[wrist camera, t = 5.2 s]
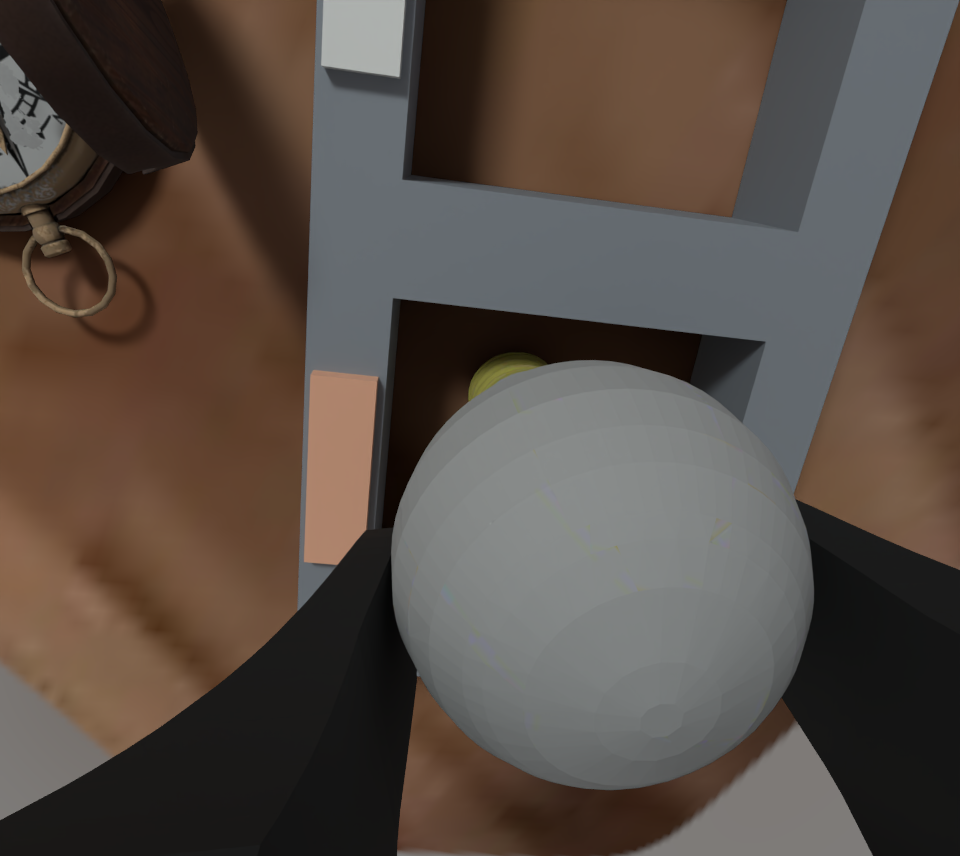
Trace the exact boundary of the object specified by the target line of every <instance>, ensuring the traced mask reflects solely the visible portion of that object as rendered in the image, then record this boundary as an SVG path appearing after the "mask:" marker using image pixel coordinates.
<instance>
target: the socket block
mask: <svg viewBox="0 0 960 856" xmlns="http://www.w3.org/2000/svg"><path fill="white" fill-rule="evenodd" d="M958 2H959V0H787V3H786V7H785V11H784V15H783V19H782V23H781V27H780V31H779V34H778V38H777V42H776V46H775V50H774V54H773V58H772V62H771V66H770V70H769V74H768V78H767V82H766V86H765V89H764V93H763V97H762V101H761V105H760V109H759V113H758V117H757V121H756V125H755V129H754V133H753V137H752V141H751V145H750V148H749V152H748V156H747V160H746V164H745V168H744V172H743V176H742V180H741V184H740V188H739V192H738V196H737V200H736V203H735V207H734V211H733V215H732V218H731V217H723V216H716V215H708V214H701V213H693V212H686V211H678V210H671V209H663V208H656V207H648V206H641V205H633V204H626V203H618V202H611V201H603V200H596V199H588V198H581V197H573V196H566V195H558V194H551V193H543V192H536V191H528V190H521V189H513V188H506V187H498V186H491V185H483V184H476V183H468V182H461V181H453V180H446V179H438V178H431V177H423V176H416V175H411V171H412V159H413V147H414V135H415V123H416V111H417V99H418V87H419V75H420V63H421V51H422V39H423V27H424V15H425V3H426V0H317V14H316V46H315V77H314V109H313V141H312V172H311V204H310V235H309V267H308V298H307V330H306V361H305V393H304V425H303V456H302V488H301V519H300V551H299V582H298V610H299V609H300V608H301V607H302V606H303V605H304V604H305V603H306V602H307V601H308V599H309V598H310V597H311V596H312V595H313V594H314V592H315V591H316V590H317V589H318V588H319V586H320V585H321V584H322V583H323V582H324V581H325V579H326V578H327V577H328V576H329V575H330V573H331V572H332V571H333V570H334V568H335V567H336V566H337V565H338V564H339V562H340V561H341V560H342V559H343V557H344V556H345V555H346V553H347V552H348V551H349V550H350V548H351V547H352V546H353V545H354V543H355V542H356V541H357V540H358V539H359V537H360V536H361V535H362V534H363V533H364V532H365V530H373V529H382V520H383V508H384V496H385V484H386V472H387V460H388V448H389V436H390V424H391V412H392V400H393V388H394V376H395V364H396V352H397V340H398V328H399V316H400V304H401V299H405V300H414V301H423V302H431V303H440V304H448V305H457V306H465V307H474V308H482V309H491V310H500V311H508V312H517V313H525V314H534V315H542V316H551V317H559V318H568V319H577V320H585V321H594V322H602V323H611V324H619V325H628V326H636V327H645V328H654V329H662V330H671V331H679V332H688V333H696V334H702V337H701V341H700V345H699V349H698V353H697V357H696V361H695V365H694V369H693V373H692V376H691V380H690V384H691V385H693V386H694V387H696V388H698V389H700V390H702V391H704V392H705V393H707V394H708V395H710V396H711V397H712V398H714V399H715V400H717V401H718V402H719V403H721V404H722V405H723V406H724V407H725V408H726V409H727V410H729V411H730V412H731V413H732V414H733V415H734V416H735V417H736V418H737V419H738V420H739V421H741V422H742V423H743V424H744V425H745V426H746V427H747V428H748V429H749V430H750V431H751V432H752V433H753V434H755V435H756V436H757V437H758V438H759V439H760V440H761V442H762V443H763V444H764V445H765V446H766V447H767V448H768V449H769V450H770V452H771V453H772V454H773V456H774V457H775V459H776V460H777V462H778V463H779V464H780V466H781V468H782V470H783V472H784V474H785V475H786V477H787V479H788V481H789V484H790V487H791V489H792V492H793V494H794V491H795V488H796V485H797V482H798V479H799V476H800V473H801V470H802V467H803V464H804V461H805V458H806V455H807V452H808V449H809V446H810V443H811V440H812V437H813V434H814V431H815V428H816V425H817V422H818V419H819V416H820V413H821V410H822V407H823V404H824V401H825V399H826V396H827V393H828V390H829V387H830V384H831V381H832V378H833V375H834V372H835V369H836V366H837V363H838V360H839V357H840V354H841V351H842V348H843V345H844V342H845V339H846V336H847V333H848V330H849V327H850V324H851V321H852V318H853V315H854V312H855V309H856V306H857V303H858V300H859V297H860V294H861V291H862V288H863V285H864V282H865V279H866V276H867V273H868V270H869V267H870V265H871V262H872V259H873V256H874V253H875V250H876V247H877V244H878V241H879V238H880V235H881V232H882V229H883V226H884V223H885V220H886V217H887V214H888V211H889V208H890V205H891V202H892V199H893V196H894V193H895V190H896V187H897V184H898V181H899V178H900V175H901V172H902V169H903V166H904V163H905V160H906V157H907V154H908V151H909V148H910V145H911V142H912V139H913V136H914V133H915V131H916V128H917V125H918V122H919V119H920V116H921V113H922V110H923V107H924V104H925V101H926V98H927V95H928V92H929V89H930V86H931V83H932V80H933V77H934V74H935V71H936V68H937V65H938V62H939V59H940V56H941V53H942V50H943V47H944V44H945V41H946V38H947V35H948V32H949V29H950V26H951V23H952V20H953V17H954V14H955V11H956V8H957V5H958ZM417 676H420V675H419V673H418V671H417Z"/></svg>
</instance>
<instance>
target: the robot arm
mask: <svg viewBox="0 0 960 856" xmlns="http://www.w3.org/2000/svg"><path fill="white" fill-rule="evenodd" d="M795 500H796V499H795ZM796 503H797V505H798V508H799V510H800V513H801V516H802V519H803V521H804V524H805V527H806V530H807V534H808V538H809V542H810V550H811V559H812V570H813V581H814V605H813V612H812V619H811V623H810V627H809V631H808V635H807V638H806V641H805V644H804V648H803V651H802V654H801V658H800V661H799V663H798V666H797V669H796V671H795V674H794V676H793V678H792V680H791V682H790V684H789V686H788V687H787V689H786V691H785V692H784V694H783V696H782V699H783V700H784V702H785V703H786V705H787V707H788V708H789V710H790V711H791V713H792V714H793V716H794V718H795V719H796V721H797V722H798V724H799V725H800V727H801V728H802V730H803V732H804V733H805V735H806V736H807V738H808V739H809V741H810V742H811V744H812V746H813V747H814V749H815V750H816V752H817V753H818V755H819V757H820V758H821V760H822V761H823V763H824V764H825V766H826V768H827V770H828V771H829V773H830V775H831V776H832V778H833V780H834V782H835V783H836V785H837V787H838V789H839V790H840V792H841V794H842V795H843V797H844V799H845V801H846V803H847V805H848V807H849V809H850V811H851V813H852V815H853V817H854V819H855V821H856V823H857V825H858V827H859V829H860V831H861V833H862V835H863V837H864V839H865V841H866V843H867V844H868V847H869V849H870V851H871V852H872V855H873V856H960V570H958V569H956V568H953V567H950V566H948V565H945V564H943V563H940V562H938V561H935V560H933V559H930V558H928V557H925V556H923V555H920V554H918V553H915V552H913V551H910V550H908V549H906V548H903V547H901V546H899V545H896V544H894V543H892V542H889V541H887V540H885V539H883V538H880V537H878V536H876V535H873V534H871V533H869V532H867V531H865V530H862V529H860V528H858V527H856V526H854V525H851V524H849V523H847V522H845V521H843V520H840V519H838V518H836V517H834V516H832V515H829V514H827V513H825V512H823V511H821V510H818V509H816V508H814V507H812V506H810V505H807V504H805V503H803V502H800V501H798V500H796ZM393 529H394V527H393V528H383V529H373V530H365V532H364V533H363V534H362V535H361V536H360V537H359V539H358V540H357V541H356V542H355V543H354V545H353V546H352V547H351V548H350V550H349V551H348V552H347V553H346V555H345V556H344V557H343V559H342V560H341V561H340V562H339V564H338V565H337V566H336V567H335V568H334V570H333V571H332V572H331V573H330V575H329V576H328V577H327V578H326V579H325V581H324V582H323V583H322V584H321V585H320V586H319V588H318V589H317V590H316V591H315V592H314V594H313V595H312V596H311V597H310V598H309V599H308V601H307V602H306V603H305V604H304V605H303V606H302V607H301V608H300V609H299V610H298V611H297V612H296V613H295V615H294V616H293V617H292V618H291V619H290V620H289V621H288V622H287V623H286V624H285V625H284V626H283V627H282V628H281V629H280V630H279V631H278V632H277V633H276V634H275V635H274V636H273V637H272V638H271V639H270V640H269V641H268V642H267V643H266V644H265V645H264V646H263V647H262V648H261V649H259V650H258V651H257V652H256V653H255V654H254V655H253V656H252V657H251V658H249V659H248V660H247V661H246V662H245V663H244V664H242V665H241V666H240V667H239V668H238V669H237V670H235V671H234V672H233V673H232V674H231V675H230V676H228V677H227V678H226V679H225V680H223V681H222V682H221V683H220V684H218V685H217V686H216V687H214V688H213V689H212V690H210V691H209V692H208V693H206V694H205V695H204V696H202V697H201V698H200V699H198V700H197V701H195V702H194V703H193V704H191V705H190V706H189V707H187V708H186V709H185V710H183V711H182V712H181V713H179V714H178V715H176V716H175V717H174V718H172V719H171V720H170V721H168V722H167V723H166V724H164V725H163V726H161V727H160V728H158V729H157V730H155V731H154V732H152V733H151V734H149V735H148V736H146V737H145V738H143V739H142V740H140V741H138V742H137V743H135V744H134V745H132V746H131V747H129V748H128V749H126V750H125V751H123V752H121V753H120V754H118V755H116V756H115V757H113V758H111V759H110V760H108V761H106V762H105V763H103V764H102V765H100V766H98V767H97V768H95V769H93V770H92V771H90V772H88V773H87V774H85V775H83V776H81V777H80V778H78V779H76V780H75V781H73V782H71V783H69V784H67V785H66V786H64V787H62V788H60V789H58V790H56V791H54V792H53V793H51V794H49V795H47V796H45V797H43V798H41V799H39V800H38V801H36V802H34V803H32V804H30V805H28V806H26V807H24V808H23V809H21V810H19V811H17V812H15V813H13V814H11V815H9V816H7V817H6V818H4V819H2V820H0V856H397V840H398V828H399V817H400V807H401V800H402V792H403V784H404V777H405V769H406V761H407V754H408V746H409V739H410V731H411V723H412V715H413V707H414V699H415V691H416V683H417V669H416V667H415V665H414V663H413V661H412V659H411V657H410V655H409V654H408V652H407V649H406V647H405V645H404V643H403V640H402V638H401V635H400V632H399V629H398V626H397V622H396V618H395V612H394V607H393V593H392V563H391V548H392V534H393Z"/></svg>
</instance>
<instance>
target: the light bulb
mask: <svg viewBox="0 0 960 856" xmlns="http://www.w3.org/2000/svg"><path fill="white" fill-rule="evenodd" d="M468 400H469V402H468V403H467V404H466V405H464V406H463V407H462V408H461V409H459V410H458V411H457V412H456V413H455V414H454V415H453V416H452V417H451V418H450V419H449V420H448V421H447V422H446V423H445V424H444V425H443V427H442V428H441V429H440V430H439V431H438V432H437V434H436V435H435V436H434V438H433V439H432V440H431V442H430V443H429V445H428V446H427V448H426V449H425V451H424V453H423V455H422V456H421V458H420V460H419V462H418V464H417V466H416V468H415V470H414V472H413V474H412V476H411V478H410V480H409V482H408V484H407V487H406V489H405V492H404V494H403V496H402V499H401V501H400V504H399V508H398V511H397V514H396V518H395V523H394V529H393V534H392V548H391V563H392V593H393V607H394V612H395V618H396V622H397V626H398V629H399V632H400V635H401V638H402V640H403V643H404V645H405V647H406V649H407V652H408V654H409V655H410V657H411V659H412V661H413V663H414V665H415V667H416V669H417V671H418V673H419V675H420V677H421V679H422V681H423V682H424V684H425V686H426V687H427V689H428V691H429V692H430V694H431V695H432V697H433V698H434V699H435V701H436V702H437V703H438V704H439V706H440V707H441V708H442V709H443V710H444V711H445V713H446V714H447V715H448V716H449V717H450V718H451V719H452V720H453V721H454V723H455V724H456V725H457V726H458V727H459V728H460V729H461V730H462V731H463V732H464V733H465V734H466V735H467V736H468V737H469V738H470V739H471V740H473V741H474V742H475V743H476V744H477V745H479V746H480V747H481V748H483V749H485V750H486V751H488V752H489V753H491V754H492V755H494V756H496V757H498V758H500V759H502V760H503V761H505V762H507V763H509V764H511V765H513V766H515V767H517V768H519V769H521V770H523V771H525V772H526V773H528V774H531V775H533V776H536V777H538V778H541V779H544V780H547V781H550V782H554V783H558V784H562V785H567V786H572V787H578V788H584V789H601V790H620V789H631V788H641V787H645V786H650V785H654V784H659V783H663V782H667V781H670V780H673V779H676V778H679V777H681V776H684V775H687V774H690V773H692V772H694V771H696V770H698V769H700V768H702V767H704V766H706V765H709V764H710V763H712V762H714V761H715V760H717V759H718V758H720V757H721V756H723V755H725V754H726V753H728V752H729V751H731V750H732V749H734V748H735V747H736V746H737V745H739V744H740V743H741V742H742V741H743V740H744V739H746V738H747V737H748V736H749V735H750V734H751V733H752V732H754V731H755V730H756V729H757V727H758V726H759V725H760V724H761V723H762V722H763V720H764V719H765V718H766V717H767V716H768V715H769V713H770V712H771V711H772V710H773V708H774V707H775V706H776V704H777V703H778V701H779V700H780V699H781V697H782V696H783V694H784V692H785V691H786V689H787V687H788V686H789V684H790V682H791V680H792V678H793V676H794V674H795V671H796V669H797V666H798V663H799V661H800V658H801V654H802V651H803V648H804V644H805V641H806V638H807V635H808V631H809V627H810V623H811V619H812V612H813V605H814V581H813V570H812V559H811V550H810V542H809V538H808V534H807V530H806V527H805V524H804V521H803V519H802V516H801V513H800V510H799V508H798V505H797V503H796V500H795V497H794V495H793V492H792V489H791V487H790V484H789V481H788V479H787V477H786V475H785V474H784V472H783V470H782V468H781V466H780V464H779V463H778V462H777V460H776V459H775V457H774V456H773V454H772V453H771V452H770V450H769V449H768V448H767V447H766V446H765V445H764V444H763V443H762V442H761V440H760V439H759V438H758V437H757V436H756V435H755V434H753V433H752V432H751V431H750V430H749V429H748V428H747V427H746V426H745V425H744V424H743V423H742V422H741V421H739V420H738V419H737V418H736V417H735V416H734V415H733V414H732V413H731V412H730V411H729V410H727V409H726V408H725V407H724V406H723V405H722V404H721V403H719V402H718V401H717V400H715V399H714V398H712V397H711V396H710V395H708V394H707V393H705V392H704V391H702V390H700V389H698V388H696V387H694V386H693V385H691V384H689V383H687V382H684V381H682V380H679V379H677V378H674V377H672V376H669V375H666V374H662V373H658V372H655V371H651V370H648V369H644V368H641V367H637V366H633V365H630V364H625V363H619V362H613V361H600V360H579V361H568V362H560V363H554V364H550V365H548V364H547V363H546V362H545V361H544V360H542V359H541V358H539V357H537V356H535V355H532V354H529V353H524V352H507V353H504V354H500V355H497V356H495V357H493V358H491V359H489V360H488V361H487V362H485V363H484V364H483V365H482V366H481V367H480V368H479V369H478V370H477V371H476V373H475V374H474V376H473V378H472V380H471V383H470V386H469V390H468Z"/></svg>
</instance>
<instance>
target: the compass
mask: <svg viewBox="0 0 960 856" xmlns="http://www.w3.org/2000/svg"><path fill="white" fill-rule="evenodd" d="M197 133H198V131H197V119H196V108H195V104H194V100H193V96H192V91H191V87H190V83H189V79H188V75H187V72H186V69H185V66H184V63H183V60H182V57H181V54H180V51H179V48H178V45H177V42H176V39H175V36H174V33H173V30H172V28H171V25H170V22H169V20H168V17H167V15H166V12H165V9H164V7H163V4H162V2H161V0H0V231H29V230H33V236H31V238H30V239H29V241H28V243H27V245H26V246H25V248H24V250H23V257H22V271H23V274H24V276H25V279H26V282H27V285H28V287H29V288H30V289H31V291H32V292H33V293H34V294H35V296H36V297H37V298H38V299H39V301H40V302H42V303H43V304H45V305H46V306H48V307H49V308H51V309H52V310H54V311H55V312H57V313H61V314H64V315H68V316H72V317H84V316H93V315H95V314H96V313H98V312H100V311H101V310H103V309H105V308H106V307H107V306H108V304H109V303H110V301H111V300H112V298H113V297H114V295H115V292H116V282H117V275H116V271H115V268H114V265H113V261H112V259H111V257H110V256H109V254H108V253H107V252H106V250H105V249H104V248H103V246H102V245H101V244H100V242H98V241H97V240H95V239H94V238H92V237H91V236H90V235H88V234H87V233H85V232H84V231H82V230H78V229H75V228H71V227H68V226H64V225H63V226H60V225H59V224H58V222H61V221H64V220H67V219H70V218H73V217H76V216H79V215H80V214H82V213H83V212H84V211H85V210H87V209H88V208H89V207H91V206H92V205H93V204H94V203H96V202H97V201H98V200H99V199H101V198H102V197H103V196H105V195H106V194H107V193H108V192H110V191H111V189H112V188H113V186H114V184H115V183H116V181H117V180H118V178H119V176H120V175H121V173H122V172H123V171H124V172H126V173H127V174H132V173H135V172H139V171H142V172H143V174H148V173H151V172H155V171H158V170H161V169H164V168H167V167H170V166H173V165H176V164H179V163H182V162H185V161H188V160H190V158H191V156H192V153H193V151H194V148H195V139H196V136H197ZM65 233H66V234H69V235H73V236H76V237H80V238H81V239H83V240H84V241H86V242H87V243H89V244H90V245H91V246H93V247H94V248H95V249H96V251H97V252H98V253H99V255H100V256H101V257H102V259H103V260H104V261H105V265H106V268H107V271H108V275H109V282H108V291H107V293H106V294H105V296H104V297H103V299H102V301H101V302H100V303H98V304H97V305H95V306H93V307H92V308H90V309H83V310H72V309H69V308H65V307H61V306H59V305H57V304H56V303H54V302H53V301H51V300H50V299H48V298H47V297H46V296H45V295H44V294H43V292H42V291H41V290H40V289H39V287H38V286H37V285H36V283H35V281H34V278H33V275H32V272H31V269H30V267H31V254H32V252H33V250H34V248H35V247H36V245H37V243H39V244H40V245H42V247H41V250H42V252H43V254H44V255H45V257H48V258H50V257H54V256H57V255H60V254H63V253H66V252H69V251H71V250H72V246H71V244H70V243H69V241H68V240H67V239H64V238H65Z"/></svg>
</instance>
